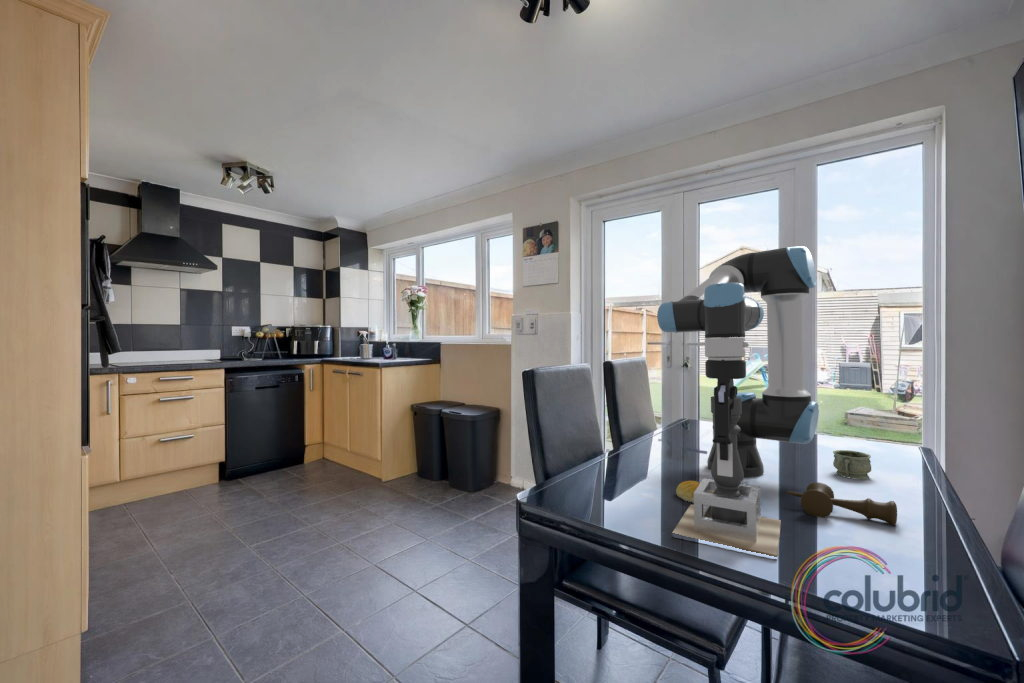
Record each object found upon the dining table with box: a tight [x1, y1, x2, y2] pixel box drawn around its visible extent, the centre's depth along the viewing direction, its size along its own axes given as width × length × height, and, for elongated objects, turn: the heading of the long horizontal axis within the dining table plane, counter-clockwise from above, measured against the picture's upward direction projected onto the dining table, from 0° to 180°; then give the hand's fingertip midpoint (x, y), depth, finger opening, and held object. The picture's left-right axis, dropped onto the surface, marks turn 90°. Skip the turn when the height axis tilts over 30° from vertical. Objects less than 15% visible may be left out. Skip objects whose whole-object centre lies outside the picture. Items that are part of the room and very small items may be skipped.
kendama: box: [785, 481, 898, 527], centre depth 99 cm, size 6×10×20 cm
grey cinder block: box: [693, 478, 762, 543], centre depth 91 cm, size 11×11×8 cm
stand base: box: [671, 504, 782, 557], centre depth 91 cm, size 18×18×1 cm
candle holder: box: [710, 395, 745, 524], centre depth 91 cm, size 6×6×25 cm
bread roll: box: [675, 480, 714, 504], centre depth 111 cm, size 8×9×4 cm
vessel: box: [832, 449, 872, 480], centre depth 127 cm, size 12×9×6 cm
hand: (727, 471), depth 91 cm, fingers closed on candle holder, 6 cm apart
